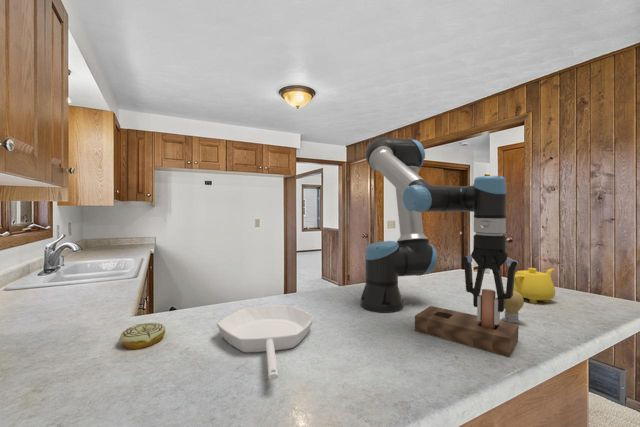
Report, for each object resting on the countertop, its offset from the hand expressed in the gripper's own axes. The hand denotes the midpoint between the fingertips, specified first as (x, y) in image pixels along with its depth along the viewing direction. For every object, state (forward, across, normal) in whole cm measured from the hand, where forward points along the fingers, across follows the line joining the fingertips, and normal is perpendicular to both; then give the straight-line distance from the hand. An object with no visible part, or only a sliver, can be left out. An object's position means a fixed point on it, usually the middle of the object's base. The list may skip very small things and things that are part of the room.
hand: (488, 321), depth 82 cm
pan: (+6, -42, -41) cm, 59 cm away
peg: (+4, 0, 0) cm, 4 cm away
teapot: (+6, +4, +55) cm, 55 cm away
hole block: (+6, -6, 0) cm, 8 cm away
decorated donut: (+6, -70, -61) cm, 93 cm away
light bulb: (+6, +2, +21) cm, 22 cm away
